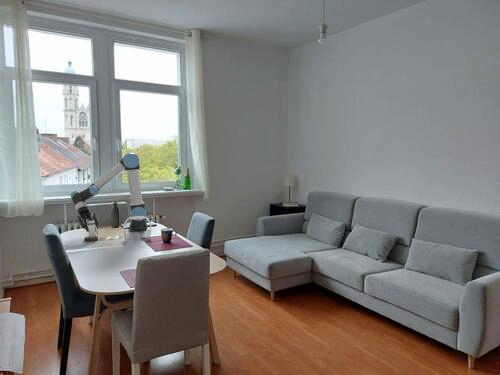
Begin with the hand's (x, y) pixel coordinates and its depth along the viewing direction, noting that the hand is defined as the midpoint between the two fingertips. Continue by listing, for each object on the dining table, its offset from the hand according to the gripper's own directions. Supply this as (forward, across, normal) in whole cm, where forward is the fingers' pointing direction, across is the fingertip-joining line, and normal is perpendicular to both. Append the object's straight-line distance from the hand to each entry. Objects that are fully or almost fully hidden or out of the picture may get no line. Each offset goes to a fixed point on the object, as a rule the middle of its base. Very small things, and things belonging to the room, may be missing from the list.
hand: (94, 233), depth 254 cm
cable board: (+4, -6, -5) cm, 9 cm away
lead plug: (0, 0, -6) cm, 6 cm away
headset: (+17, -25, +7) cm, 31 cm away
